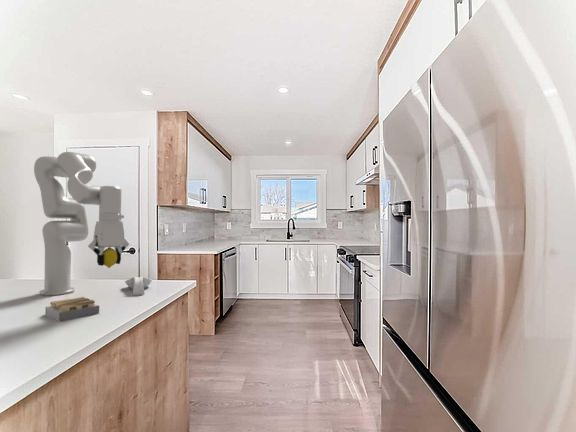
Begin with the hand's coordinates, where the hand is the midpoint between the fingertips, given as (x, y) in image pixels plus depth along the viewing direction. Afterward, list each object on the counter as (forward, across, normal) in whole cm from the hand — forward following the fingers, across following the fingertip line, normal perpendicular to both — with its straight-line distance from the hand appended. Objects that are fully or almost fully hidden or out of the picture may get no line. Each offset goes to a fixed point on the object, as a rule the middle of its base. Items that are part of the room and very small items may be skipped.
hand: (109, 263), depth 130 cm
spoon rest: (+16, -21, -14) cm, 29 cm away
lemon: (+2, 0, 0) cm, 2 cm away
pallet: (+13, +15, +5) cm, 20 cm away
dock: (+15, +15, +5) cm, 22 cm away
